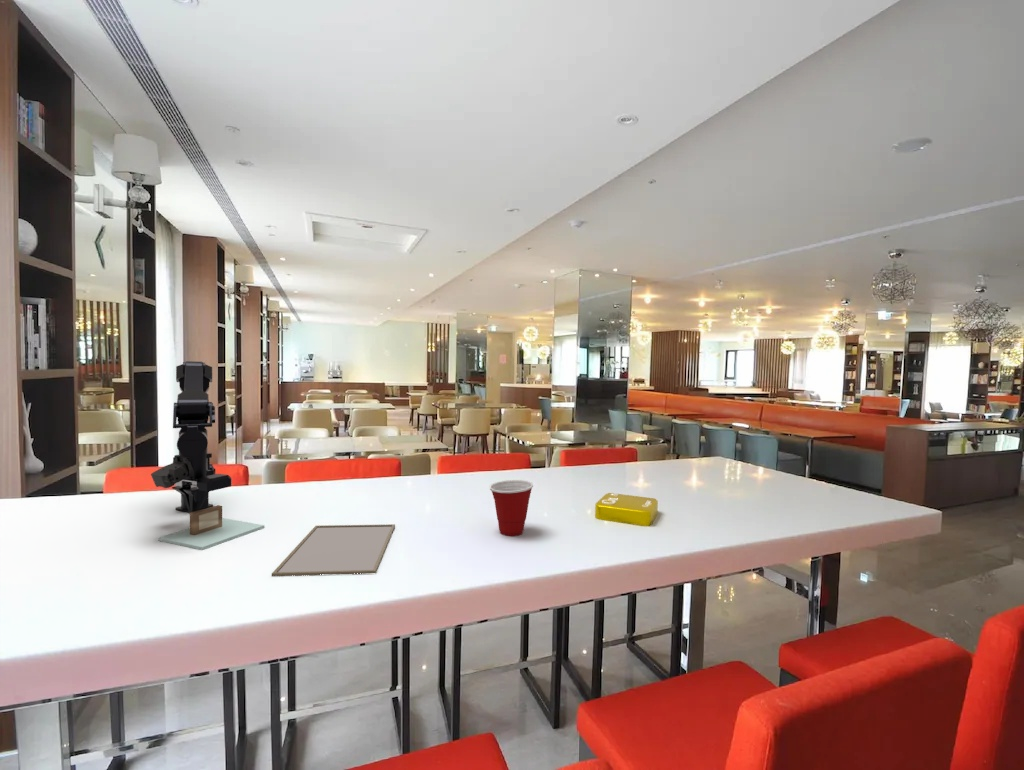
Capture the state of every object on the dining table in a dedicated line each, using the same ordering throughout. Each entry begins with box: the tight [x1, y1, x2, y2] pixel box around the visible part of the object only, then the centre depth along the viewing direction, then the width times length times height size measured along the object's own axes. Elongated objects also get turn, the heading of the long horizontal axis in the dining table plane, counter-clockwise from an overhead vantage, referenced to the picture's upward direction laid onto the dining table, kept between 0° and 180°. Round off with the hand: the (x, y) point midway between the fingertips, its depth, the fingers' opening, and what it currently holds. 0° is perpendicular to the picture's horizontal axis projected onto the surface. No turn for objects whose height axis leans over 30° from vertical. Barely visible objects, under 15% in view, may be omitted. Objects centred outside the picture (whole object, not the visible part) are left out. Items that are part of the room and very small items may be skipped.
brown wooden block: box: [189, 504, 223, 535], centre depth 114 cm, size 2×7×5 cm, turn 159°
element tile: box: [594, 492, 659, 527], centre depth 135 cm, size 15×15×5 cm
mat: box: [157, 517, 265, 551], centre depth 114 cm, size 14×16×1 cm
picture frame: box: [271, 524, 396, 577], centre depth 107 cm, size 19×1×28 cm
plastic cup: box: [489, 479, 534, 537], centre depth 119 cm, size 11×11×12 cm
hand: (193, 515), depth 116 cm, fingers closed
